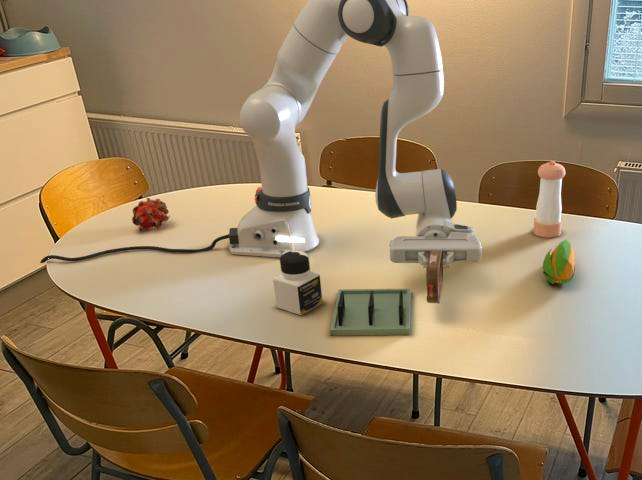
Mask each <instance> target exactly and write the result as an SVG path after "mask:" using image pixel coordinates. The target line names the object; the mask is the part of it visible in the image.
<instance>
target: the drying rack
mask: <svg viewBox="0 0 642 480" xmlns="http://www.w3.org/2000/svg"><path fill="white" fill-rule="evenodd" d="M411 298H412V297H411V288H347V289H341V288H340V289H339V288H338V290H337V295H336V299H335V304H334V309H333V313H332V319H331V323H330V328H329V336H331V337H344V336H345V337H346V336H347V337H349V336H410V334H411V333H410V332H411V300H412V299H411Z"/></svg>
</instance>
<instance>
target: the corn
mask: <svg viewBox="0 0 642 480" xmlns="http://www.w3.org/2000/svg"><path fill="white" fill-rule="evenodd" d="M551 251H552V249H549V251H548V252H547V253H546V255H545V257H544V258H543V262H542V271H543V272H542V273H543V275H544V278H545V280H546V281H547V282H548V283H550V284H551V285H554V284H558V285H559V286H562V285H564V284H567V283H568V282H570V280H572V278H574V275H575V272H576V271H575V269H576V268H575V259H576V253H575V250H574V249H573V246H572V244H571V243H570V241H569V240H568V239H563V240H561V241H560V242H559V244H558V245H557V246H556V247H555V248H554V249H553V251H552V252H551Z"/></svg>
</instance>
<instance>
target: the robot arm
mask: <svg viewBox="0 0 642 480" xmlns="http://www.w3.org/2000/svg"><path fill="white" fill-rule="evenodd" d="M349 37H350V38H351V39H353V40H355V41H357V42H360V43H363V44H368V45H372V46H375V47H385V48H386V49H387V51H388V53H389V56H390V61H391V68H392V77H393V78H392V79H393V85H392V90H391V94H390V96H389V97H388V98H387V99H386V100H385V101H384V102H383V104H382V106H381V111H380V120H379V121H380V123H379V126H380V127H379V144H378V169H377V171H378V172H377V180H376V186H375V194H374V195H375V197H374V198H375V203H376V206H377V210H378V211H379V212H380V213H381V214H383V215H384V216H386V217H387V218H389V219H397V218H401V217H406V216H411V215H412V216H413V215H417V218H416V223H415V225H416V227H415V229H416V233H415V235H403V236H396V237H394V238H393V239H392V240H389V244H388V245H389V260H390V261H391V262H392V263H394V264H419V265H421V266H422V268H423V269H427V264H428V258H429V254H430V251H431V250H442V251H443V258H442V268H443V269H449V268H450V266H451V265H452V264H468V263H469V264H477V263H480V262H481V261H482V254H483V253H482V252H483V251H482V243H481V240H480V238H479V237H478V236H477V235H476V234H475V233H474V228H473V227H472V226H469V225H462V224H456V223H454V222H453V217H454V216H455V214H456V213H457V210H458V209H457V207H458V204H457V203H458V202H457V196H456V195H457V194H456V188H455V187H456V186H455V182H454V179H453V178H452V176H451V175H450V174H449V173H448V172H447V171H446V170H444V169H443V168H438V169H436V168H435V169H426V170H421V171H420V170H419V171H412V172H411V171H409V172H398V171H397V170H396V165H397V144H398V141H397V140H398V136H399V134H400V132H401V131H402V130H403V129H404V128H405V127H406V126H408V125H409V124H411V123H413V122H415V121H417V120H419V119H421V118H422V117H425V116H426V115H427V114H429V113H431V112H432V111H433V110H434V109H436V107H438V105H439V104H440V102H441V101H442V99H443V97H444V93H445V75H444V74H445V73H444V64H443V56H442V51H441V46H440V42H439V37H438V34H437V31H436V27H435V25H434V23H433V22H432V21H431V20H429V19H428V18H426V17H423V16H419V15H410V8H409V5H408V1H407V0H308V1H306V3H305V4H304V6H303V7H302V9H301V10H300V12H299V14H298V15H297V17H296V19H295V21H294V23H293V24H292V26H291V28H290V30H289V32H288V33H287V35H286V37H285V39H284V41H283V43H282V44H281V46H280V48H279V50H278V52H277V55H276V61H275V64H274V67H273V70H272V73H271V75H270V77H269V79H268V80H267V82H266V83H265V85H263V87H261V88H260V89H257V91H255V92H253V93H252V94H250V95H249V96H248V97H247V98H246V100H245V102H244V103H243V105H242V107H241V109H240V111H239V123H240V126H241V128H242V131H244V133H245V134H246V136H248V138H249V139H250V141H251V144H252V147H253V149H254V152H255V155H256V159H257V163H258V169H259V176H260V184H261V186H258V187H257V188H256V190H255V194H254V204H255V206H254V207H253V208H251V209H250V210H249V211H248V212H247V213H246V214H245V215H243V216H242V217H241V218H240V220H239V221H238V224H237V227H230V228H229V232H228V234H224V235H222V236H218V237H217V238H215V239H214V240H212V242H211V244H210V245H209V246H207V247H204V248H197V249H195V248H193V249H187V248H167V247H162V246H155V245H138V246H137V245H136V246H135V245H134V246H128V247H127V246H125V247H118V248H111V249H106V250H101V251H99V252H94V253H91V254H88V255H84V256H77V257H66V256H62V255H56V254H55V255H54V254H51V255H50V254H49V255H46V256H44V257H43V258H42V259H41V260H40V261H39V263H40V264H45V263H46V262H47V261H48V260H58V261H65V262H79V261H81V262H82V261H85V260H90V259H93V258H97V257H101V256H104V255H108V254H113V253H119V252H126V251H139V250H142V251H143V250H146V251H147V250H150V251H160V252H165V253H178V254H179V253H183V254H185V253H186V254H194V253H195V254H196V253H202V252H208V251H211V250H213V249H214V248H215V246H216V244H217V243H219V242H220V241H224V240H226V239H228V241H229V244H228V246H229V247H228V248H229V252H230V253H231V254H232V255H239V256H250V257H251V256H252V257H266V258H279V259H280V257H281V256H282V255H283V254H284V253H287V252H290V251H301V252H305V253H306V252H308V251H311V250H312V249H315V248H316V247H317V246H318V245H319V244H320V238H319V236H318V234H317V230H316V228H315V224H314V220H313V216H312V208H313V205H312V195H311V190H310V187H309V186H308V178H307V170H306V169H307V167H306V158H305V156H304V154H303V153H302V152H301V150H300V146H299V143H298V140H297V135H296V127H297V126H298V125H299V124H300V123H302V122H303V120H305V119H304V118H305V117H306V115H307V113H308V112H309V109H310V107H311V105H312V103H313V101H314V99H315V96H316V95H317V93H318V90H319V87H320V85H321V84H322V81H323V79H324V78H325V76H326V74H327V72H328V71H329V69H330V67H331V65H332V64H333V62H334V60H335V59H336V57H337V56H338V54H339V52H340V50H341V48H342V47H343V45H344V44H345V42H346V40H347V39H348V38H349ZM48 258H49V259H48Z"/></svg>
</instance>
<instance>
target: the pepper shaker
mask: <svg viewBox="0 0 642 480" xmlns="http://www.w3.org/2000/svg"><path fill="white" fill-rule="evenodd" d="M537 175H538V176H539V177H540V181H539V193H538V197H537V202H536V205H535V206H536V207H535V218H534V219H533V235H535V236H537V237H541V238H546V239H547V238H550V239H551V238H556V237H558V236H560V235H561V234H562V226H563V225H562V222H563V221H562V219H561V218H562V210H563V208H562V194H561V193H562V184H563V183H562V182H563V179H564V178H565V176H566V168H565V167H564V166H563V165H562V164H560V163H556V161H554V160H550V161H549V162H546V163H543V164H541V165H540V166H539V167H538V170H537Z"/></svg>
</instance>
